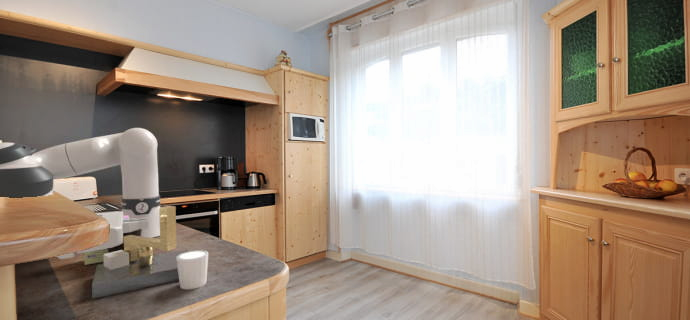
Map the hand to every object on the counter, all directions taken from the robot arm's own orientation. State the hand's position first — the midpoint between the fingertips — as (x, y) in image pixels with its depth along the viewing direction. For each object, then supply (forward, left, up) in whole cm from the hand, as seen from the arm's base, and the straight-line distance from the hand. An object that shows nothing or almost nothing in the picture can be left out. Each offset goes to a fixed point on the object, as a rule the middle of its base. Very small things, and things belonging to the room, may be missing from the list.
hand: (147, 223), depth 72 cm
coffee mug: (-22, -4, -15) cm, 27 cm away
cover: (-11, -6, -12) cm, 17 cm away
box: (-28, -9, -15) cm, 33 cm away
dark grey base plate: (-7, 0, -15) cm, 16 cm away
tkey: (-6, 0, -11) cm, 13 cm away
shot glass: (+4, +9, -15) cm, 18 cm away
